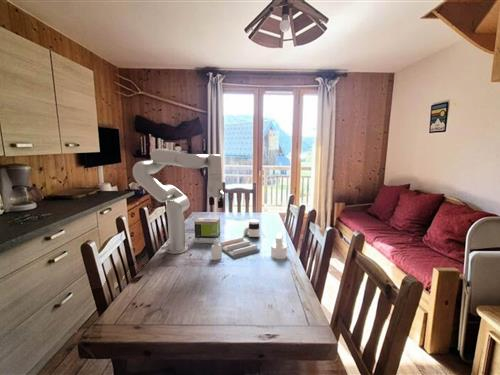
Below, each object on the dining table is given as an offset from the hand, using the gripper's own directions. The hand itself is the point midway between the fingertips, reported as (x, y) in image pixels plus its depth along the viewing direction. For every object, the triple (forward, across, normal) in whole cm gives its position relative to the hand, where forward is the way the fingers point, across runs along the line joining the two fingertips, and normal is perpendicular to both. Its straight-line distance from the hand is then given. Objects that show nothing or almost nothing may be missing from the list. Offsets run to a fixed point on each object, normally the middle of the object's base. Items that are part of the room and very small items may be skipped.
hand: (216, 206), depth 147 cm
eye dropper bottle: (+28, +6, -4) cm, 30 cm away
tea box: (+28, -21, +5) cm, 36 cm away
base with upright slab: (+29, +24, +26) cm, 46 cm away
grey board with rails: (+28, +3, +13) cm, 31 cm away
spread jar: (+29, -11, +34) cm, 46 cm away
